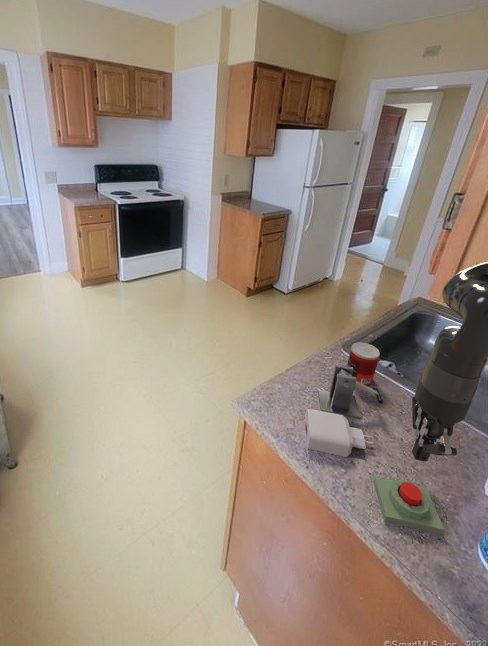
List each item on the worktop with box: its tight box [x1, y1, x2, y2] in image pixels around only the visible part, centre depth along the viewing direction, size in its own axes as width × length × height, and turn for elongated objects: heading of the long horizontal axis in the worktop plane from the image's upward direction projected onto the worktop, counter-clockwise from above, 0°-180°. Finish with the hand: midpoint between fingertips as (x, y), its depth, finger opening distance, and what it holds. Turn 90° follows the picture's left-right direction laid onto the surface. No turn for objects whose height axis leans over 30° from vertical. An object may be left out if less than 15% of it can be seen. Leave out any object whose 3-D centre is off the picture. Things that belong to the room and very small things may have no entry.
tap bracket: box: [317, 364, 362, 420], centre depth 87 cm, size 10×8×12 cm
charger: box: [304, 408, 374, 458], centre depth 78 cm, size 5×9×15 cm
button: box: [399, 481, 422, 506], centre depth 63 cm, size 4×4×2 cm
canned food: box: [346, 342, 381, 387], centre depth 97 cm, size 8×8×11 cm
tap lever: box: [337, 369, 384, 405], centre depth 85 cm, size 12×5×2 cm, turn 77°
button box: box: [373, 476, 445, 536], centre depth 64 cm, size 10×8×4 cm
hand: (418, 457), depth 61 cm, fingers closed
